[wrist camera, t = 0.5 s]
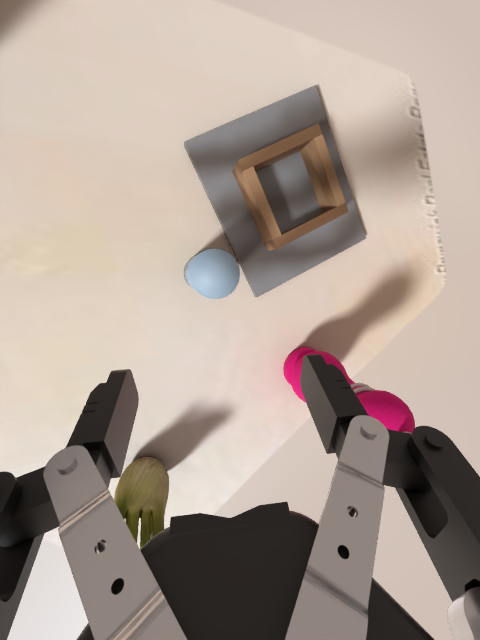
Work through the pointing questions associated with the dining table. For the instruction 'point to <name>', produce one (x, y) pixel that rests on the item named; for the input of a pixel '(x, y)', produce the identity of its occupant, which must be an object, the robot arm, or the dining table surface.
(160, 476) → the fennel bulb
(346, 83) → the dining table surface
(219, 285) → the post
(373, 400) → the pepper mill
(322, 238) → the wooden frame tray
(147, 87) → the dining table surface
